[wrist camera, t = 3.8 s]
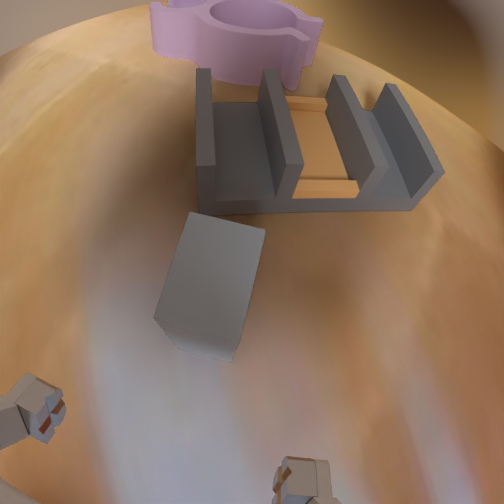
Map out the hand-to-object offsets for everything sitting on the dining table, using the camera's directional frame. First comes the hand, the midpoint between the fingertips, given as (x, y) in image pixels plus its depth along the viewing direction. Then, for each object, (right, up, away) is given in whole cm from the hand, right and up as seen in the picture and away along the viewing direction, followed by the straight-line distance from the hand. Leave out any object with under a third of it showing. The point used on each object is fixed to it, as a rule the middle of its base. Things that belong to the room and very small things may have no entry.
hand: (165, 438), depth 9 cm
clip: (0, +31, +26) cm, 40 cm away
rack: (+8, +15, +19) cm, 25 cm away
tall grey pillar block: (0, +2, +12) cm, 12 cm away
